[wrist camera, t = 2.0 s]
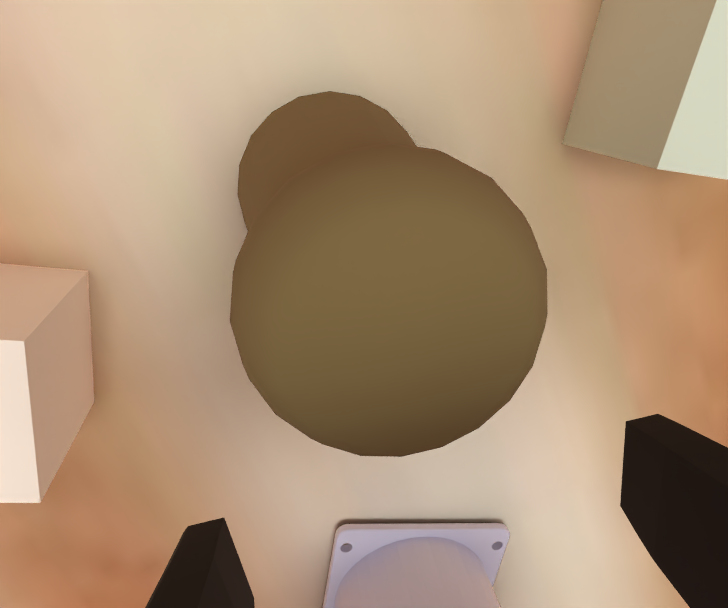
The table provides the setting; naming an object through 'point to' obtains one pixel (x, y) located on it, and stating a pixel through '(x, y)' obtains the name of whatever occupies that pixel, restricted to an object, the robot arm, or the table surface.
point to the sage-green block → (656, 86)
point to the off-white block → (41, 374)
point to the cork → (379, 281)
